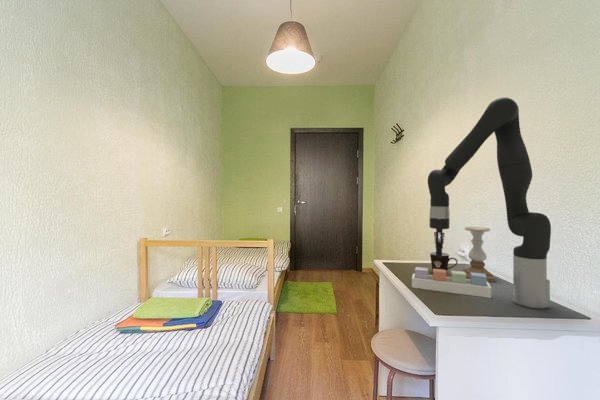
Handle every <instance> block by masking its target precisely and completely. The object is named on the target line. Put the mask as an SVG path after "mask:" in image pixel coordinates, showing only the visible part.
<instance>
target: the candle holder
mask: <svg viewBox="0 0 600 400" xmlns="http://www.w3.org/2000/svg"><path fill="white" fill-rule="evenodd" d="M464 230H465V231H468V232H470V234H471V236H472V239H470V242H471V243H472V248H471V250H470V251H469V252H468V258H469V259H470V262H469V265H470V266H469V267H465V268H464V267H463V269H462V270H460V271H461V272H465V273H466V279H468V280H471V273H481V274H485V275H486V276H487V282H488V283H496V277H494V275H493V273H491V272H490V271H488V270H487V268H485V266H486V264H485V262H484V261H485V260H487V254H486V252H485V251H484V249H483V248H482V245H483V243H485V241H484V240H483V237H482V236H483V235H485V232H490V231H491V229H490V227H483V226H482V227H481V226H479V227H478V226H466V227H465V226H464Z"/></svg>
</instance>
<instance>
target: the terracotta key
mask: <svg viewBox="0 0 600 400" xmlns="http://www.w3.org/2000/svg"><path fill="white" fill-rule="evenodd" d="M432 276H433V280H435V281H443V282H446V277H447V275H446V270H441V269H433V272H432Z"/></svg>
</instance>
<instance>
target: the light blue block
mask: <svg viewBox="0 0 600 400" xmlns="http://www.w3.org/2000/svg"><path fill="white" fill-rule="evenodd" d="M471 285H478V286H486V287H487V276H486V275H485V274H481V273H471Z"/></svg>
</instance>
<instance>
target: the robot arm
mask: <svg viewBox="0 0 600 400" xmlns="http://www.w3.org/2000/svg"><path fill="white" fill-rule="evenodd" d="M519 109H520V108H519V105H518V103H517V102H516V101H515V100H514V99H512V98H510V97H499V98H496V99H494V100H492V101H491V102H490V103H489V104H488V106H487V107H486V109H485V110H484V112H483V113H482V115H481V116H480V118H479V119H478V121H477V123H476V124H475V125H474V126H473V128H472V129H471V130H470V132H469V133H468V134H467V135H465V137H464V138H463V139H462V140H461V142H460V143H459V144H458V145H457V146H456V147H455V148H454V149H453V150H452V152H450V154H449V155H448V156H447V157H446V158H445V160H444V165H443V167H442V168H441V169H434V170H431V171H430V173H429V174H428V176H427V185H428V186H427V187H428V190H429V196H430V207H429V208H430V209H429V228H430V229H435V231H434V232H433V237H434V244H435V252H436V258H442V253H443V248H444V247H443V245H444V242H445V241H444V240H445V232H443V230H448V229H450V218H451V217H450V196H449V194H448V193H447V192H446V187H447V186H449V185H451V184H452V183H453V181H454V180H455V179H456V178H457V176H458V175H459V173H460V171H461V170H462V168H464V167H465V165H466V164H467V163H469V161H470V160H471V159H472V158H473V157H474V155H475V154H477V152H478V151H479V149H480V148H481V147H482V146H483V145H484V143H485V142H486V140H487V139H488V138H489V137H490V136H492V134H494V135H495V139H496V159H497V160H496V161H497V169H498V173H499V176H500V181H501V185H502V190H503V194H504V202H505V208H506V220H507V226H508V229H509V230H510V232H511V233H512V234H513V235H515V236H519V237H522V238H523V239H522V244H520V245H517V246H515V247H514V248H513V251H512V253H513V258H512V259H513V264H512V265H513V273H512V274H513V277H512V278H513V279H512V280H513V283H512V284H513V287H512V289H513V290H512V291H513V294H512V296H513V302H514V303H515V304H517V305H519V306H522V307H526V308H531V309H538V310H540V309H541V310H542V309H546V308H550V307H551V293H550V292H551V280H550V279H548V278H547V275H548V273H547V272H548V271H547V269H548V267H547V266H548V265H547V263H548V261H547V258H548V253H549V251H550V248H551V234H552V225H551V222H550V219H549V217H548V216H547V215H546V214H544V213H540V212H533V211H532V212H530V211H529V207H528V203H527V194H528V191H529V188H530V185H531V182H532V180H533V171H532V170H533V169H532V165H531V160H530V155H529V153H528V151H527V147H526V144H525V141H524V140H523V137H522V131H521V126H520V115H519V113H520V112H519V111H520V110H519Z"/></svg>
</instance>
